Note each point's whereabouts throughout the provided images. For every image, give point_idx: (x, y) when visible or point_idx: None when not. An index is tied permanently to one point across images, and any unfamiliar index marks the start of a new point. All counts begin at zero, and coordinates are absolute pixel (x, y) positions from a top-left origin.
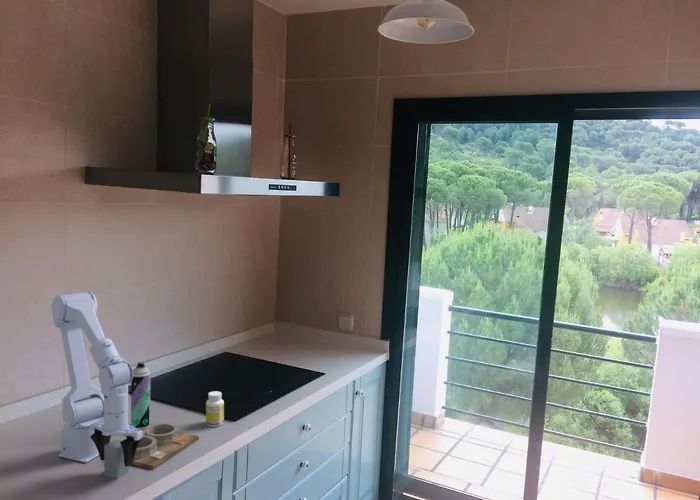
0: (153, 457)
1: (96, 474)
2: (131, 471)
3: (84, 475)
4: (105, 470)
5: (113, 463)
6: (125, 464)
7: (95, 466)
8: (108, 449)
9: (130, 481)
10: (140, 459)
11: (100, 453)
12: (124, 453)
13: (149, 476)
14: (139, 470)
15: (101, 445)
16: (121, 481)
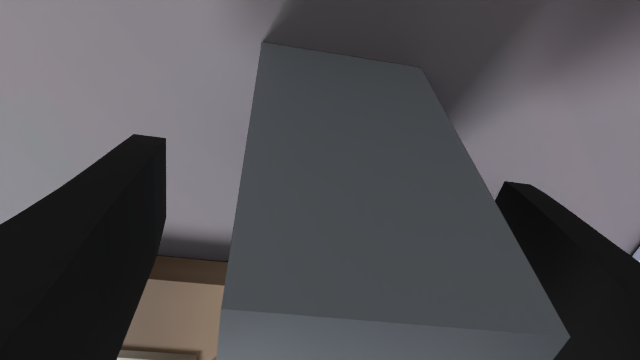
0: (166, 355)
1: (511, 72)
2: (227, 189)
3: (625, 26)
4: (421, 91)
5: (315, 128)
6: (139, 143)
7: (570, 186)
8: (443, 276)
9: (99, 31)
10: None
11: (574, 233)
12: (52, 241)
13: (11, 156)
14: (175, 215)
15: (627, 343)
16: (188, 8)
